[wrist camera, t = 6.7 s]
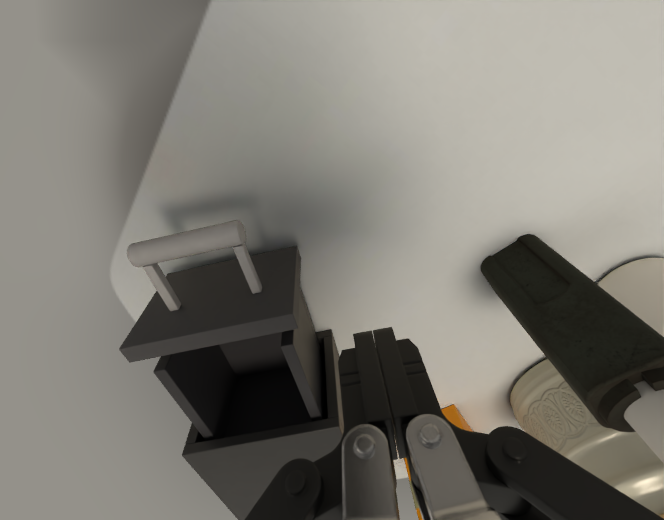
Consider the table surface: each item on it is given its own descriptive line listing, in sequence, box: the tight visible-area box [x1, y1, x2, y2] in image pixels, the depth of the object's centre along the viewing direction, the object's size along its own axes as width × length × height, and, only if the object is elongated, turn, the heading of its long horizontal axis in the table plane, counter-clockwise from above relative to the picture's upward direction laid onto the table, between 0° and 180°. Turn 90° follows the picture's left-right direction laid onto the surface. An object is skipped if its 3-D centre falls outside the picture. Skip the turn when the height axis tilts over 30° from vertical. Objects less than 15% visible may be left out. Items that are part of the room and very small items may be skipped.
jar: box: [510, 359, 664, 519], centre depth 30 cm, size 13×13×18 cm
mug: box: [597, 258, 664, 337], centre depth 27 cm, size 12×8×10 cm
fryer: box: [182, 330, 344, 520], centre depth 31 cm, size 14×12×10 cm
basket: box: [119, 220, 327, 441], centre depth 24 cm, size 17×10×8 cm, turn 12°
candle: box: [481, 235, 664, 463], centre depth 18 cm, size 5×5×25 cm
